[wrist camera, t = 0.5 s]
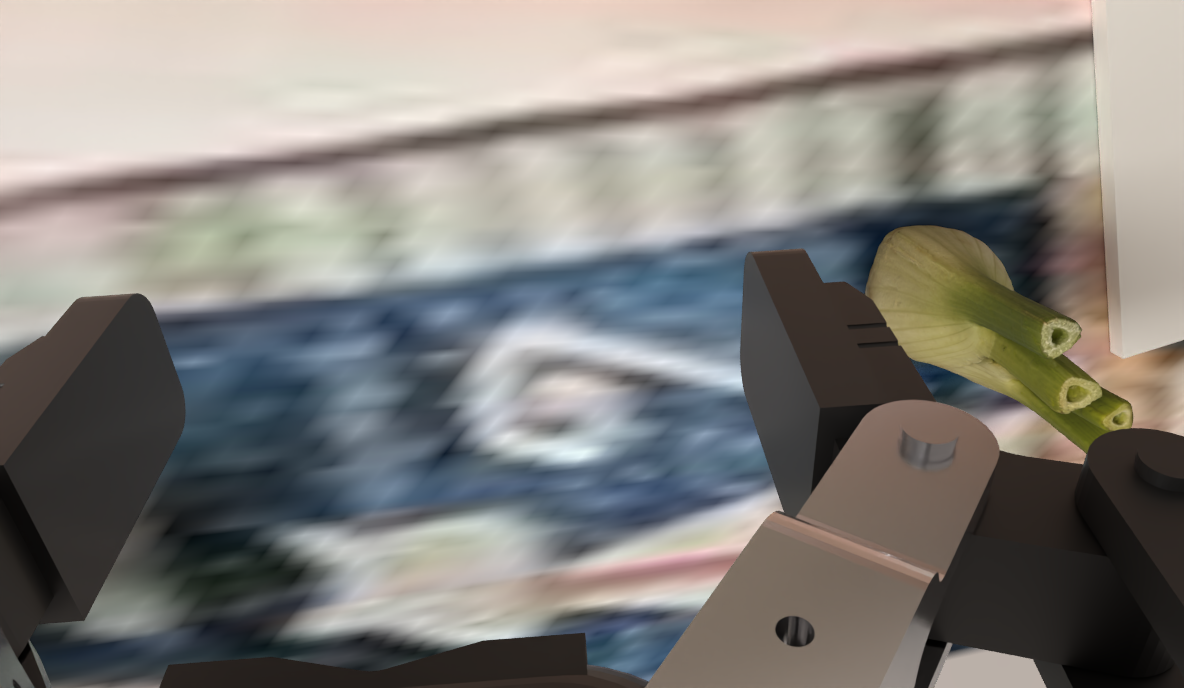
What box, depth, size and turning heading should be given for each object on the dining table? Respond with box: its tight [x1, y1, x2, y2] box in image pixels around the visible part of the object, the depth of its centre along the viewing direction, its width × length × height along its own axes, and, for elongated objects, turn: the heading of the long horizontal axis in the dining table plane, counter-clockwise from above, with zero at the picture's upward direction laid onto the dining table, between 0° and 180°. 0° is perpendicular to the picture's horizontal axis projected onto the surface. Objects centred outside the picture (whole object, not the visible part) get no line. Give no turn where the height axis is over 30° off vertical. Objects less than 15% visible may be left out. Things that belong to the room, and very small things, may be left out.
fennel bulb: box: [865, 225, 1133, 454], centre depth 31 cm, size 6×5×12 cm
